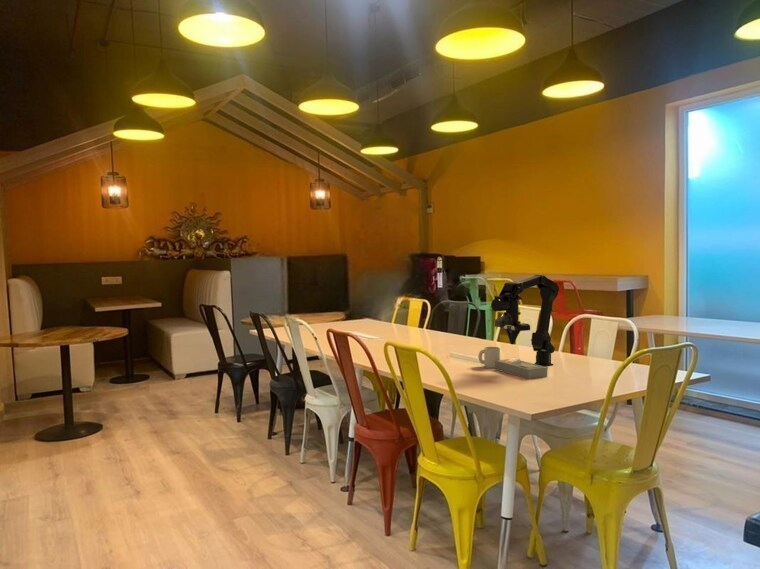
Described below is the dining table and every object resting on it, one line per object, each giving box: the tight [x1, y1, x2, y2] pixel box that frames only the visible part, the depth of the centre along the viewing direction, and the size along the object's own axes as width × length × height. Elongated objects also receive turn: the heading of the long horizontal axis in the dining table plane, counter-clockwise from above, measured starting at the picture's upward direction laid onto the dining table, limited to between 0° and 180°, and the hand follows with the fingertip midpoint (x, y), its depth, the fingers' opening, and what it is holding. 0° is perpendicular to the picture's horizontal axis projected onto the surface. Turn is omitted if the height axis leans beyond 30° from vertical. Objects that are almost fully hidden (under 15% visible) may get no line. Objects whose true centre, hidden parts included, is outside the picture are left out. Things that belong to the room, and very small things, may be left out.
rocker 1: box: [505, 357, 521, 363], centre depth 256 cm, size 6×4×1 cm, turn 115°
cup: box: [478, 346, 501, 369], centre depth 266 cm, size 7×10×9 cm
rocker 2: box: [521, 363, 537, 368], centre depth 246 cm, size 6×4×1 cm, turn 115°
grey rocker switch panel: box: [495, 358, 548, 380], centre depth 251 cm, size 10×23×4 cm, turn 25°
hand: (512, 344), depth 256 cm, fingers closed
